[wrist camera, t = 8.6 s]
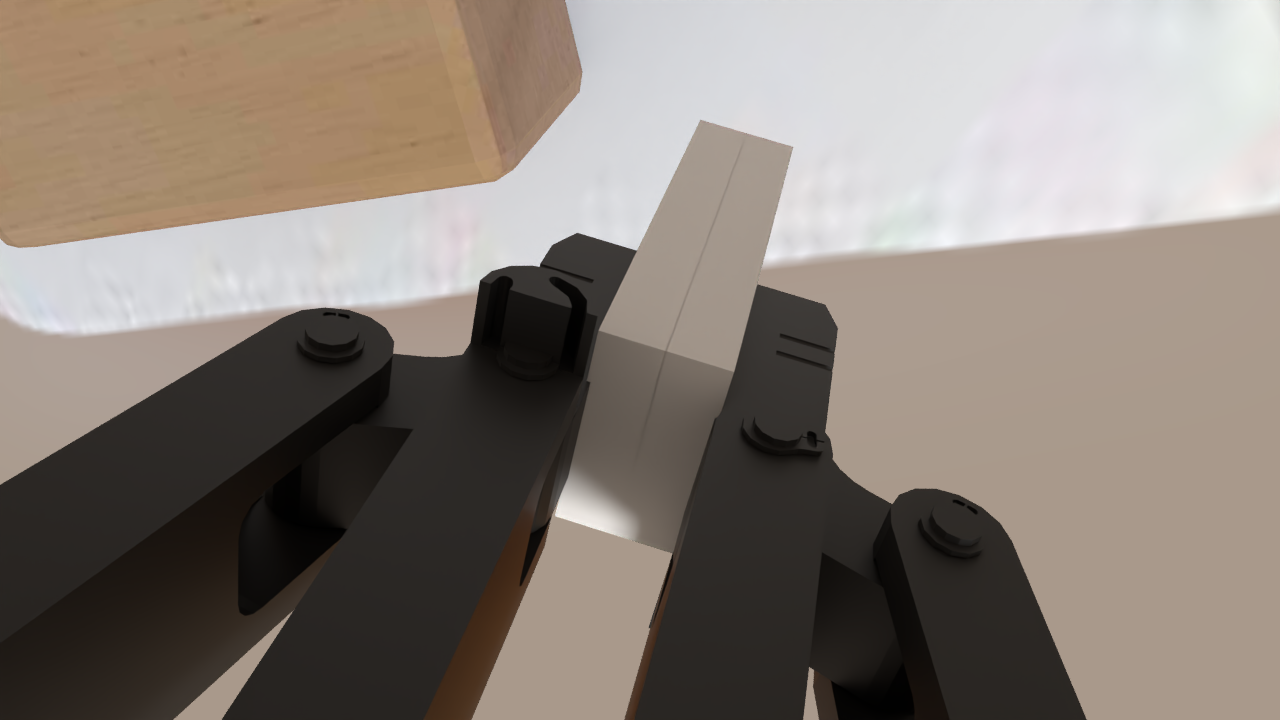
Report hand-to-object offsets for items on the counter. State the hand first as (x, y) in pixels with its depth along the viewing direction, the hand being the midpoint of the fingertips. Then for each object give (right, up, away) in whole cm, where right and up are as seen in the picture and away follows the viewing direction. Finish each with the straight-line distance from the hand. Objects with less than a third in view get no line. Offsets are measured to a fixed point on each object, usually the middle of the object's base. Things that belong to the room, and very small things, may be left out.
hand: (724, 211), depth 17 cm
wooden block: (-5, +10, +17) cm, 20 cm away
